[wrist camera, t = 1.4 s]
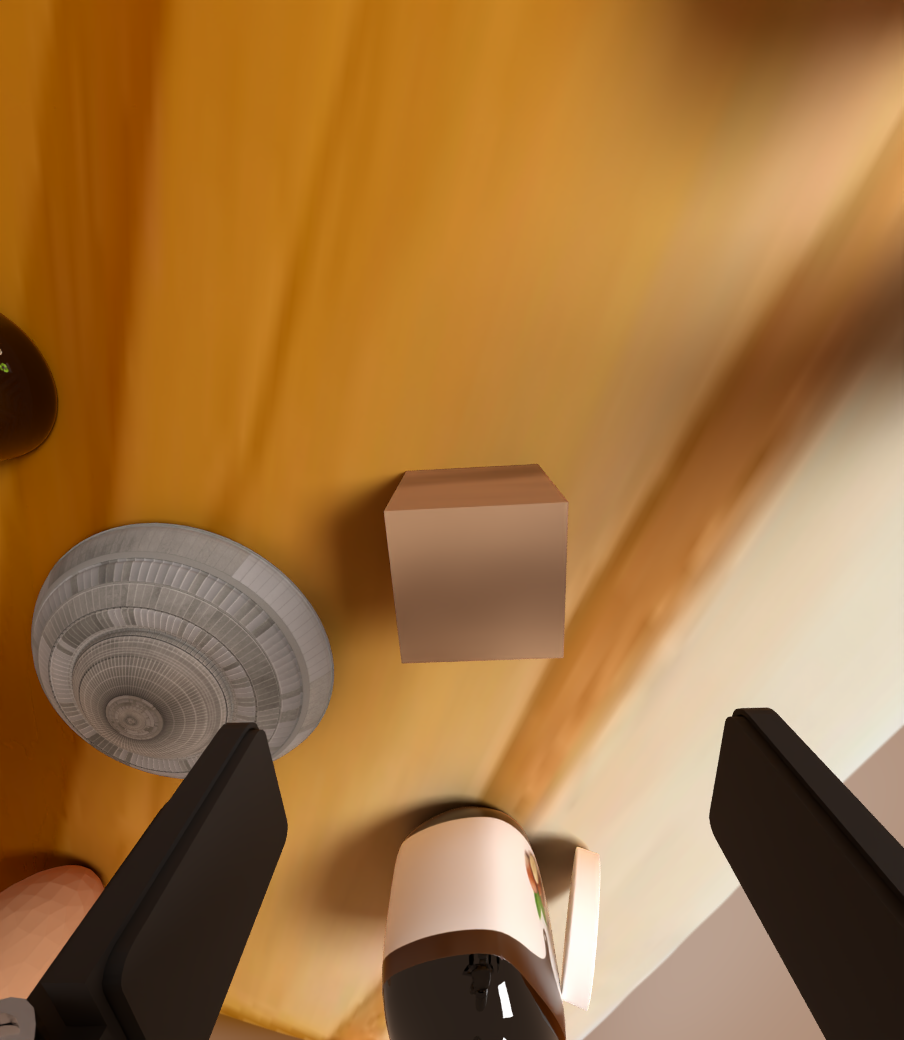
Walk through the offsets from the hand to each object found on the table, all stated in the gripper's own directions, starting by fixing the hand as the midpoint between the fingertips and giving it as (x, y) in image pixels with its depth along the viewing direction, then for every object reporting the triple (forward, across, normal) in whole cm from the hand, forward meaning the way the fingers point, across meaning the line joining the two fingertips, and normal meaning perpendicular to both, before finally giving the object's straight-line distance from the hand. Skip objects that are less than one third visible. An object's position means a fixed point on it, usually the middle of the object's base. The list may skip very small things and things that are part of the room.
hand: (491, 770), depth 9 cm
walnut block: (+13, 0, -1) cm, 13 cm away
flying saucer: (+13, +15, +5) cm, 21 cm away
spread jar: (+13, -1, +21) cm, 25 cm away
